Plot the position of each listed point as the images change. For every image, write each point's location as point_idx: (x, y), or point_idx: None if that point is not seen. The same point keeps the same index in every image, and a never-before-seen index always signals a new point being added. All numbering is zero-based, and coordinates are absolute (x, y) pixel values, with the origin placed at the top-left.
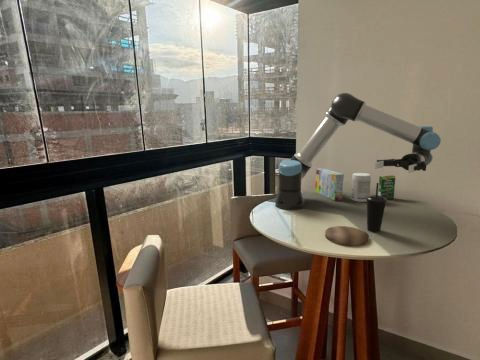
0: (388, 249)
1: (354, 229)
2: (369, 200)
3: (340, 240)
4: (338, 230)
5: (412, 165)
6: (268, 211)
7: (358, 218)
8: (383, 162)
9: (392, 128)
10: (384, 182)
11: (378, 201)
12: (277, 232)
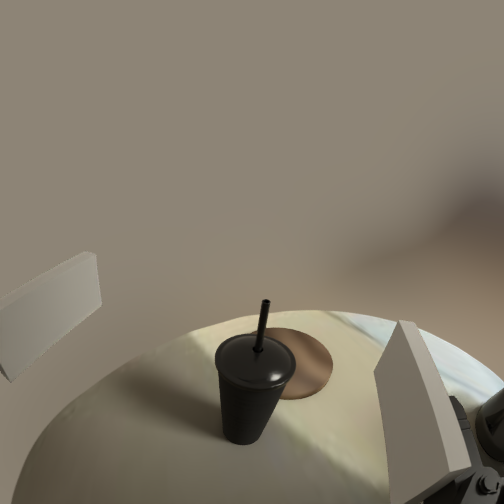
0: (191, 347)
1: None
2: (271, 339)
3: (279, 329)
4: (309, 363)
5: (58, 266)
6: (479, 378)
7: (324, 499)
8: (433, 479)
9: None
10: None
11: (239, 335)
12: (383, 327)
